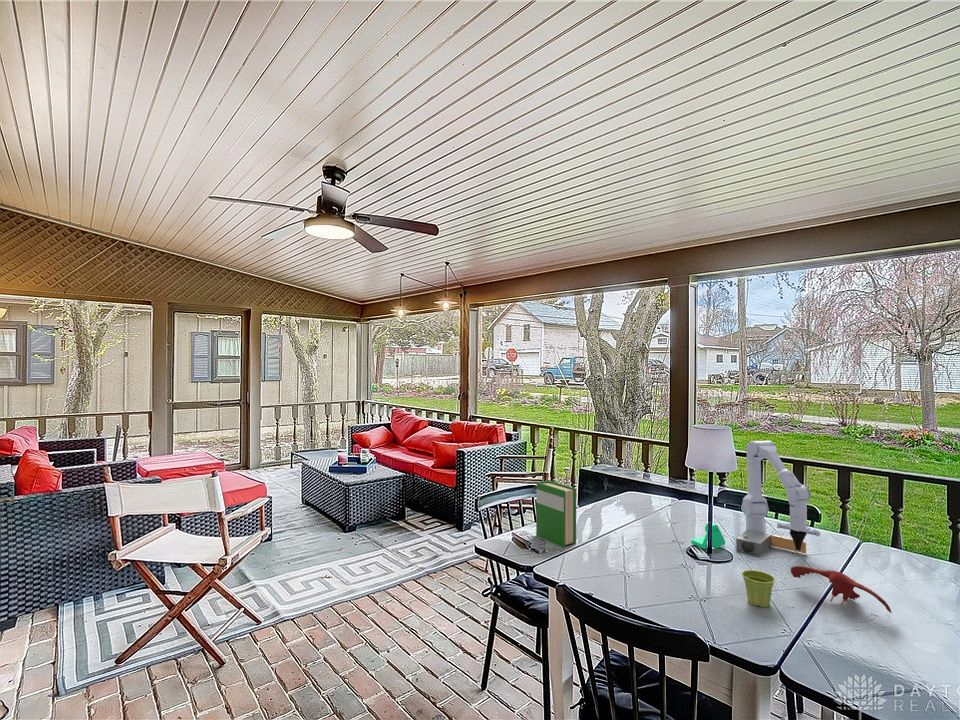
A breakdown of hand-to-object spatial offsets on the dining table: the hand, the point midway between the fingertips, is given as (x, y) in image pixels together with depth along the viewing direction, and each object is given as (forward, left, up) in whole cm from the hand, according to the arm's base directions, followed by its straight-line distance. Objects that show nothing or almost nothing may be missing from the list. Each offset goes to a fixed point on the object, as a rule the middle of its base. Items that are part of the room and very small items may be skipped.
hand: (798, 549), depth 193 cm
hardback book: (+55, -80, -3) cm, 97 cm away
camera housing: (+3, -15, -3) cm, 16 cm away
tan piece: (-5, -5, -2) cm, 7 cm away
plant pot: (+55, 0, -3) cm, 55 cm away
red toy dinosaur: (+36, +19, -3) cm, 40 cm away
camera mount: (+14, -30, -3) cm, 34 cm away
